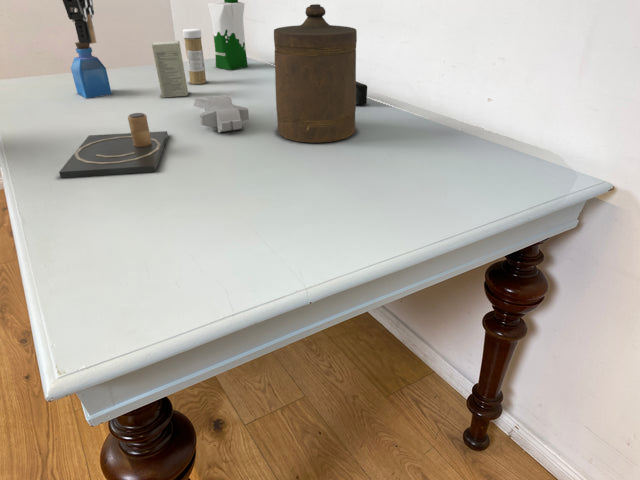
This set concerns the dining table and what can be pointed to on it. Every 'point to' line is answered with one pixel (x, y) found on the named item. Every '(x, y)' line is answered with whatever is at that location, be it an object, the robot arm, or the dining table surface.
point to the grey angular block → (221, 113)
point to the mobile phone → (361, 94)
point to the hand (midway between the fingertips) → (87, 41)
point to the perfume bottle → (89, 73)
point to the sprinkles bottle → (194, 55)
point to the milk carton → (228, 34)
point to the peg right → (139, 129)
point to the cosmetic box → (170, 68)
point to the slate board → (114, 155)
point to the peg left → (91, 28)
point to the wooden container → (315, 79)
